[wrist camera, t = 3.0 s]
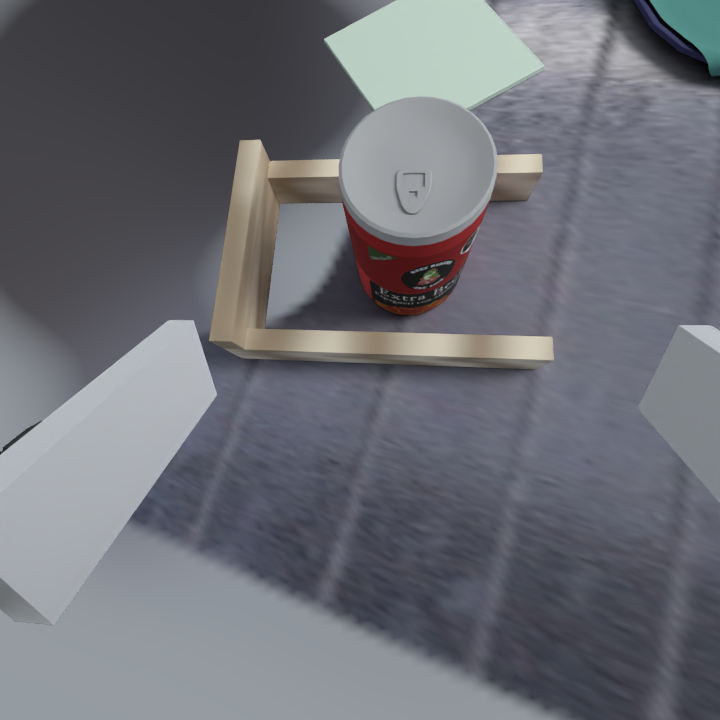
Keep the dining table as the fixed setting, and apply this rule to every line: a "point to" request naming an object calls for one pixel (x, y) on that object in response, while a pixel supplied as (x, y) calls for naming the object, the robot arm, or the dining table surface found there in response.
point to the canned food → (415, 198)
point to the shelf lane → (252, 341)
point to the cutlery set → (687, 27)
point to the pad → (433, 53)
